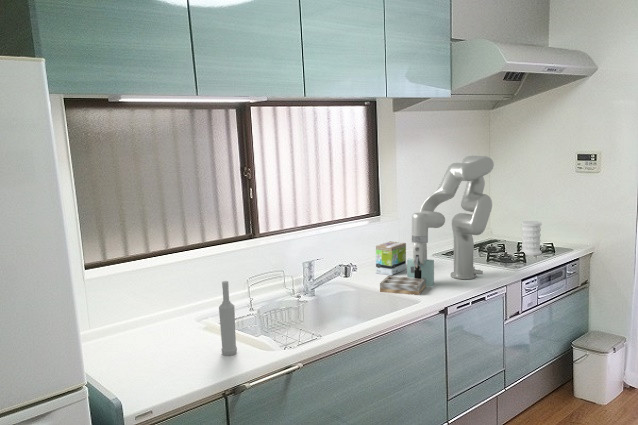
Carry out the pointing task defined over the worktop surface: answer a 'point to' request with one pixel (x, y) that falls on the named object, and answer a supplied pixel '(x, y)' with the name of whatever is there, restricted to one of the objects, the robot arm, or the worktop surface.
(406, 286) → the track base
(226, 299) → the bottle
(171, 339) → the worktop surface
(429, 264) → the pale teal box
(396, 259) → the tea box
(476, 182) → the robot arm
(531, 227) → the decorative container
